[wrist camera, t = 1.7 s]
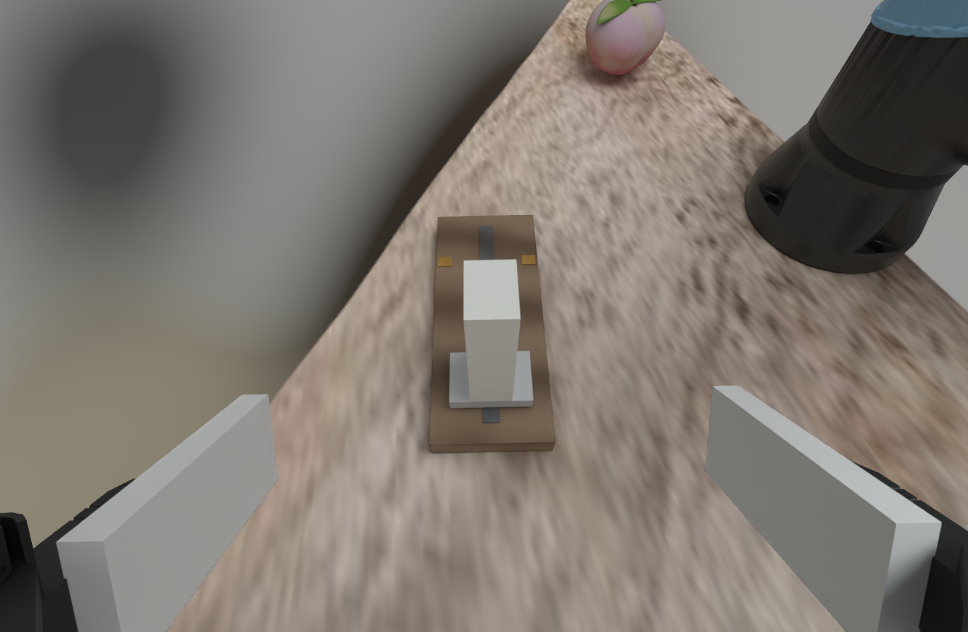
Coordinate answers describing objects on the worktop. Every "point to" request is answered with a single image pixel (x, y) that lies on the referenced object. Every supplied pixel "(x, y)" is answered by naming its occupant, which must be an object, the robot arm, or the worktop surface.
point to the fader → (491, 341)
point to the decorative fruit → (623, 34)
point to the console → (465, 425)
